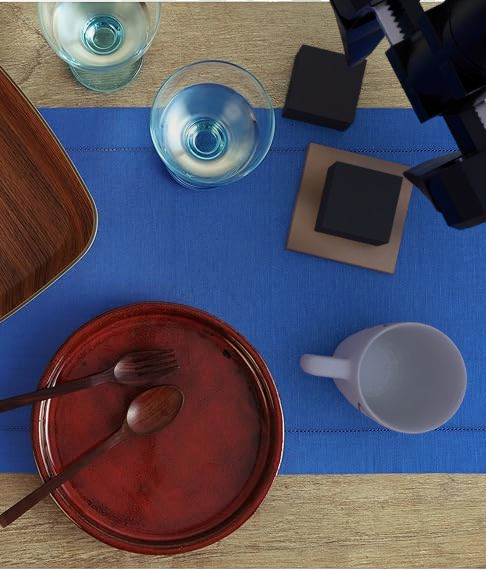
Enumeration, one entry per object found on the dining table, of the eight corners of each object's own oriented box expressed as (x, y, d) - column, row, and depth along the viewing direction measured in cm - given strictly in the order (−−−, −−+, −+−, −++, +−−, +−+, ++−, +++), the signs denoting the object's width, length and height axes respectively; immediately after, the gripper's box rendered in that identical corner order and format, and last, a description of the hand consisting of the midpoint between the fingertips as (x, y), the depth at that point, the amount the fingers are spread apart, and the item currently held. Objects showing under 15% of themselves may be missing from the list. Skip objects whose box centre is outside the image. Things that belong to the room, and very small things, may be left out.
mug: (280, 404, 56) (311, 424, 46) (289, 312, 57) (322, 311, 47) (405, 418, 56) (463, 440, 46) (413, 325, 57) (472, 327, 47)
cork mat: (307, 145, 57) (310, 141, 56) (412, 170, 57) (417, 167, 56) (284, 249, 57) (286, 248, 56) (389, 274, 57) (394, 274, 56)
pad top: (295, 55, 58) (302, 43, 55) (357, 70, 58) (367, 59, 55) (281, 116, 57) (287, 107, 55) (343, 131, 57) (353, 123, 55)
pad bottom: (328, 167, 56) (336, 160, 54) (391, 182, 56) (403, 176, 54) (313, 231, 56) (321, 227, 53) (377, 246, 56) (389, 243, 53)
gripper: (731, 116, 31) (532, 181, 47) (560, -210, 31) (419, -37, 47) (537, 213, 31) (401, 246, 46) (366, -118, 31) (289, 25, 47)
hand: (381, 117), depth 47 cm, fingers open, 9 cm apart
